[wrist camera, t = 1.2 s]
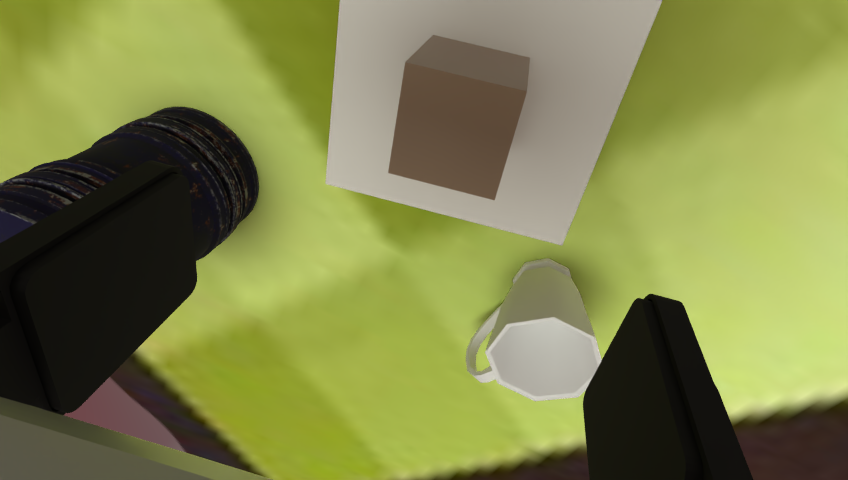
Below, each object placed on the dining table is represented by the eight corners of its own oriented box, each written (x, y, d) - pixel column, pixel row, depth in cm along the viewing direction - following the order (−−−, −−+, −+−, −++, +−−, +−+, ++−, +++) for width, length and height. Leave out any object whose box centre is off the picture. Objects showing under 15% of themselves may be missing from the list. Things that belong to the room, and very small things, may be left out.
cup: (613, 292, 36) (630, 376, 29) (503, 348, 40) (495, 431, 34) (554, 224, 34) (558, 297, 27) (446, 291, 39) (426, 367, 32)
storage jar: (222, 90, 33) (33, 185, 21) (281, 216, 38) (155, 356, 26) (111, 121, 36) (-111, 221, 24) (178, 235, 41) (21, 368, 29)
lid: (358, -103, 19) (291, -115, 14) (668, -35, 18) (718, -21, 13) (333, 174, 26) (282, 234, 21) (561, 233, 25) (566, 311, 20)
